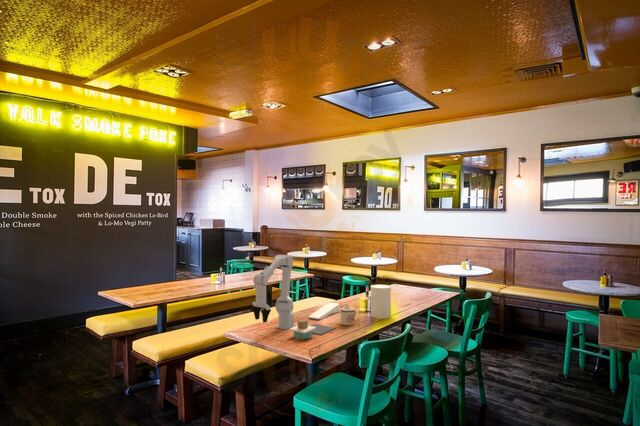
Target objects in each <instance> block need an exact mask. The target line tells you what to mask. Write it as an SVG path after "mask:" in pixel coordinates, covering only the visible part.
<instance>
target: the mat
mask: <svg viewBox="0 0 640 426" xmlns="http://www.w3.org/2000/svg"><path fill="white" fill-rule="evenodd" d="M310 326H313V327H316V329H314V330H312V335H317V334H318V336H323V335H325V334H327V333H329V331H330V332H331V331H334V330H336V327H334V326H327V325H323V324H317V323H313V324H311V325H310Z"/></svg>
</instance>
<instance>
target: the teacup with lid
mask: <svg viewBox="0 0 640 426" xmlns="http://www.w3.org/2000/svg"><path fill="white" fill-rule="evenodd" d="M339 312H340V324H341V325H345V326H352V325H355V318H356V315H357V312H356V310H355V308H354V307H352V306H350V304H346V305H344V307H340V311H339Z"/></svg>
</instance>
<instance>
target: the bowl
mask: <svg viewBox="0 0 640 426" xmlns="http://www.w3.org/2000/svg"><path fill="white" fill-rule="evenodd" d="M312 337H313V333H312V331H310V332H307V333H300V332H295V331H293V338H294V339H297V340H308V339H312Z"/></svg>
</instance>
